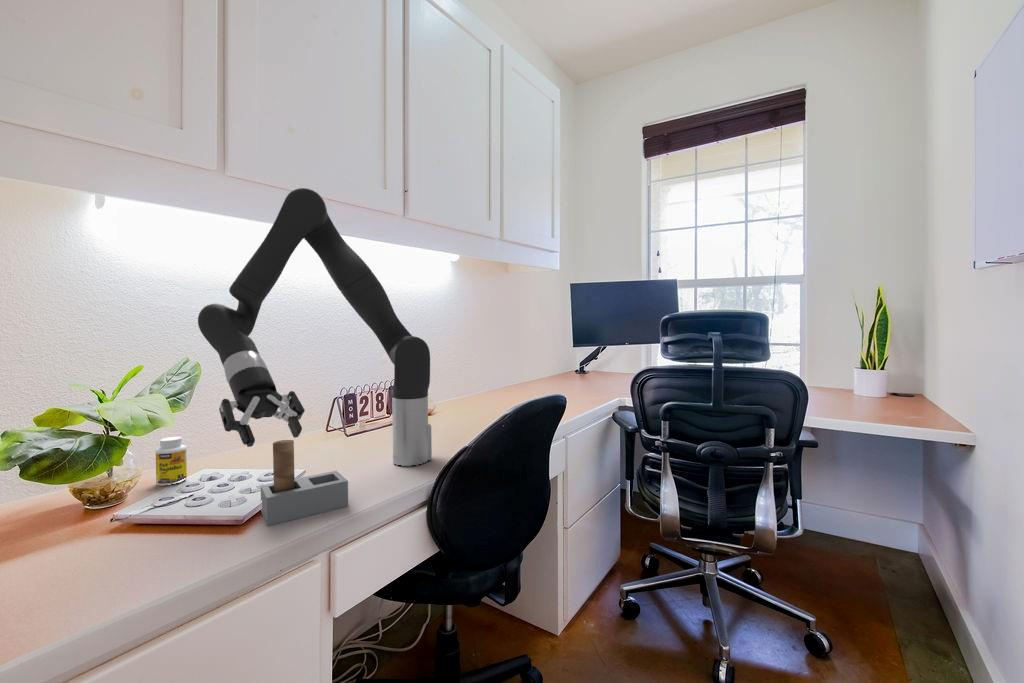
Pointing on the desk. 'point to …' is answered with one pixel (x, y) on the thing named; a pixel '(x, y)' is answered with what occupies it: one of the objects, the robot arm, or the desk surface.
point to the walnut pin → (283, 466)
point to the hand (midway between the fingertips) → (275, 439)
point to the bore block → (304, 497)
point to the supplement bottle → (171, 461)
